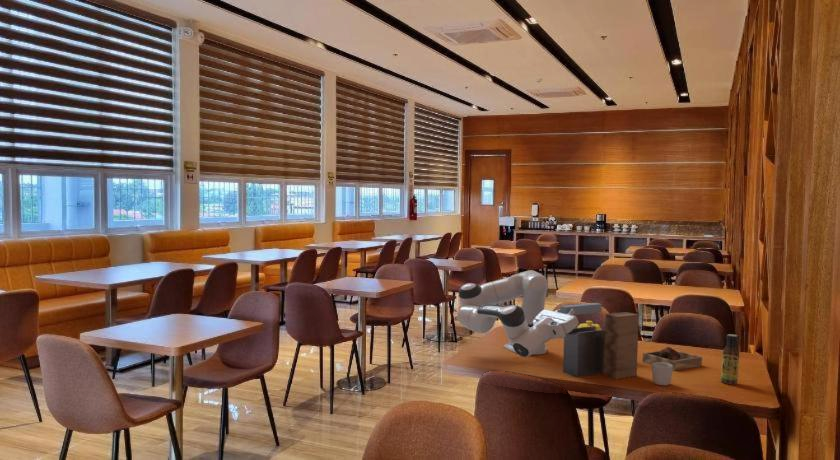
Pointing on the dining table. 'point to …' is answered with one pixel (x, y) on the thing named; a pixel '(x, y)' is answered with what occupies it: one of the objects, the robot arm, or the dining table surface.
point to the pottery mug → (668, 353)
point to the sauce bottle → (730, 361)
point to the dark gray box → (584, 351)
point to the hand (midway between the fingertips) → (569, 309)
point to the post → (621, 345)
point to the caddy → (683, 363)
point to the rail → (582, 308)
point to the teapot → (589, 323)
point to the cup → (662, 373)
